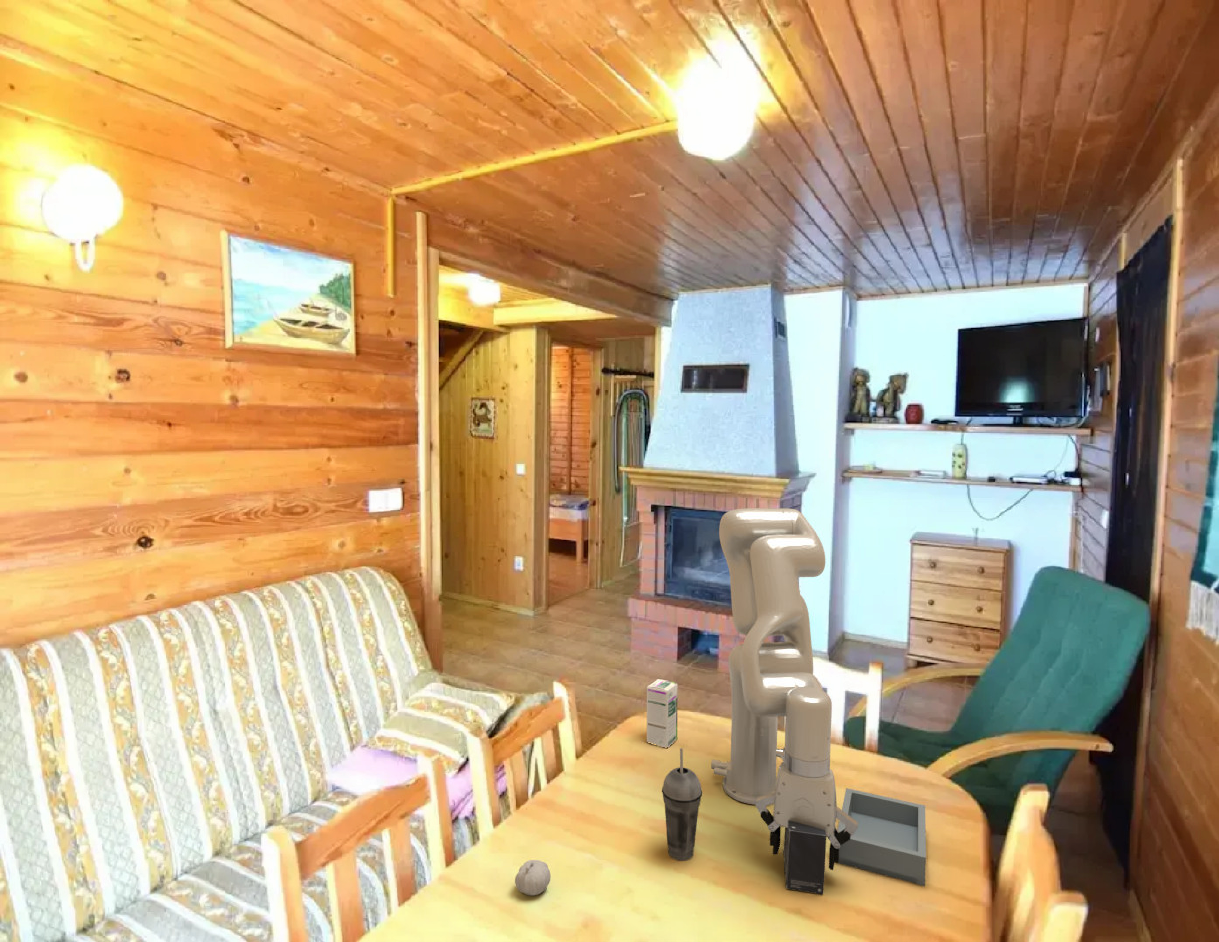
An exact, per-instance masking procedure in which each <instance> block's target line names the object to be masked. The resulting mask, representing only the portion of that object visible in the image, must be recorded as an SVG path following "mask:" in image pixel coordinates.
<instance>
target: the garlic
mask: <svg viewBox="0 0 1219 942" xmlns="http://www.w3.org/2000/svg"><path fill="white" fill-rule="evenodd" d="M550 882H551V871H550V869H549V867H548V864H547V863H546V862H545V861H543V860H539V859H529V860H527V861H525V862H524V863H523V865H521V866H520V867H519V869H518V872H517V873H516V875H515V878H514V883H515V884H514V885H515V887H516V889H517V890H518V891H519V892H520V893H522V894H525V895H527V896H537V895H540V894H541V893H542V892H544V891H546V890H547V888H548V886H549V884H550Z"/></svg>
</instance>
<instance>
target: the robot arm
mask: <svg viewBox="0 0 1219 942" xmlns="http://www.w3.org/2000/svg"><path fill="white" fill-rule="evenodd" d="M718 529H719V530H718V532H719V533H718V535H719V536H718V537H719V541H720V546H721V549H722V553H723V556H724V558H725V560H726V564H727V567H728V572H729V579H730V580H729V582H730V599H731V611H732V621H733V622H732V623H733V626H734V628H735V631H736V632H737V633H738V634H740V635H743V636H746V637H745V639H744V642H743V643H741V644H739V645H736V646H734V647H733V648H732V650H730V653H729V655H728V670H729V672H728V673H729V680H730V687H731V731H730V734H731V735H730V736H731V737H730V738H731V739H730V761H726V762H723V761H721V760H717V759H711V764H710V765H711V767H710V768H711V770H713V775H717V776H722V777H723V779H722V788H723V790H724V792H725V793H726V794H727V795H728V796H729V797H731V799H734V800H736V801H738V802H740V803H743V804H748V805H755V807H756V809H757V812H758V813H759V815H760V816H759V817H760V818H761V819H762V821H763V822H764V823H765V824H766V826H767V829H768V831H769V846H771V847H772V854H773V855H775V856H776V855H778V853H779V849H780V847H781V829H782V828H784V829H785V828H788V820H790V821H794V822H798V823H802V824H806V825H809V826H813V827H816V828H820V829H823V830H825V831H826V838H827V839H828V841H829V842H830V843H829V848H828V849H829V851H828V852H829V853H828V869H829V870H830V871H834V868H835V864H837V865H838V864H839V863H838V862H839V848H840V846H841V845H842V844H844V843H845V842H847V841H848V840H850V838H851V836H852V835H853V834H854V833H855V832H856V830H857V829H858V822H857V821H855V820H854V819H853V818H851V817H850V816H849V815H847V814H846V813H845V812H844V811H842V808H840V807H839V806H838V805H837V790H836V789H837V788H836V781H835V775H834V772H833V770H832V769H831V745H832V744H831V742H832V714H833V713H832V712H833V704H832V702H833V701H832V699H831V697H830V694H828V693H827V692H825V691H824V690H823V686H822V683H821V682H820V681H819V680H818V678H817V677H816V676H815V675H814V658H813V648H812V647H813V646H812V635H811V623H810V616H809V615H810V614H809V610H808V609H809V608H808V606H807V603H806V600H805V599H804V597H803V596H802V595H801V591H800V585H799V578H816V577H818V576H820V575H822V573H823V572H824V571H825V567H826V554H825V549H824V546H823V544H822V541H821V539H820V537H819V536H818V534H817V532H816V531H815V529H814V528H813V527H812V525H811V524H810V523H809V520H808V519H807V518H806V517H805V516H804V515H803V513H802V512H800V511H799V510H797V509H794V508H787V507H786V508H785V507H784V508H774V507H773V508H769V507H768V508H767V507H766V508H765V507H764V508H763V507H760V508H758V507H755V508H754V507H753V508H752V507H747V508H735V509H732V510H729V511H727V512H725V513H724V514H723V515H722V516H721V519H720V521H719V528H718ZM769 636H771V637H772V636H774V637H775V636H781V637H783V639H784V641H777V642H776V641H774V642H772V641H771V642H770V641H767V642H765V640H766V639H767V638H768V637H769ZM778 717H785V721H784V722H785V727H784V728H785V729H784V731H785V732H784V747H783V748H778V719H779V718H778ZM777 758H780V759H782V762H781V763H780V765H779V767H778V769H777ZM771 805H773V814H772V813H771V811H769V809H768V808H767V806H771ZM837 820H838V822H839V821H841V822H842V823H843V824H845V825H846V826H847V827H846V829H844V830H842V831H841V832H839V831H838V827H837V826H836V824H837ZM781 827H782V828H781Z"/></svg>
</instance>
